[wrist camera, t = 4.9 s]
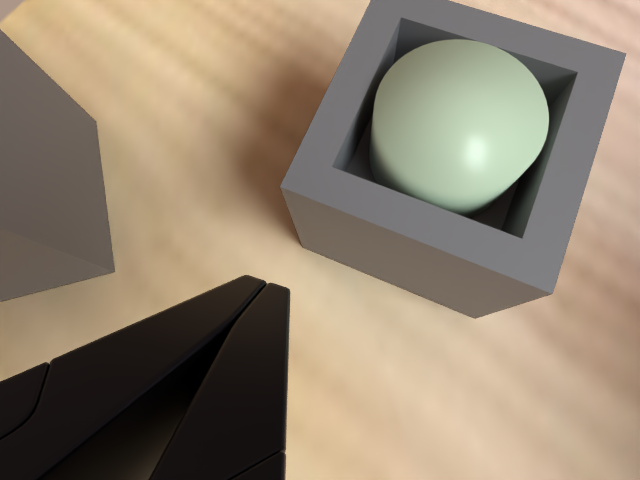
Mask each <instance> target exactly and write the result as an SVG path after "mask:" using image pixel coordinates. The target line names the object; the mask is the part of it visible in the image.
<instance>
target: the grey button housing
mask: <svg viewBox="0 0 640 480" xmlns="http://www.w3.org/2000/svg"><path fill="white" fill-rule="evenodd" d="M452 39H462V40H472V41H478V42H482V43H486V44H489V45H492V46H494V47H497V48H499V49H501V50H503V51H505V52H507V53H509V54H510V55H512V56H513V57H515V58H516V59H517V60H519V61H520V62H521V63H522V64H523V65H525V67H526V68H527V69H528V70H529V71H530V72H531V73H532V74H533V76H534V77H535V78H536V80H537V81H538V83H539V85H540V87H541V89H542V90H543V93H544V96H545V98H546V102H547V106H548V113H549V125H548V133H547V136H546V140H545V143H544V145H543V147H542V150H541V151H540V153H539V155H538V156H537V158H536V159H535V160H534V162H533V163H532V164H531V165H530V166H529V167H528V168H527V169H526V170H525V172H524V173H523V174H522V175H521V176H520V177H519V178H518V179H517V180H516V181H515V182H514V183H513V184H512V185H511V186H510V187H509V188H508V189H507V190H506V191H505V193H504V194H503V195H502V196H501V197H500V198H499V199H498V200H497V201H496V202H495V203H494V204H492V205H491V206H490V207H489V208H487V209H486V210H484V211H483V212H481V213H479V214H477V215H474V216H472V217H469V218H466V217H463V216H461V215H458V214H455V213H453V212H450V211H447V210H445V209H442V208H439V207H437V206H434V205H432V204H429V203H426V202H424V201H421V200H418V199H416V198H413V197H410V196H408V195H405V194H402V193H400V192H397V191H394V190H392V189H389V188H387V187H384V186H381V185H379V184H377V182H376V180H375V178H374V176H373V173H372V170H371V166H370V160H369V146H370V137H371V128H372V119H373V111H374V102H375V98H376V93H377V90H378V88H379V85H380V83H381V81H382V79H383V77H384V76H385V74H386V73H387V72H388V70H389V69H390V68H391V67H392V66H393V65H394V64H395V63H396V62H397V61H398V60H399V59H400V58H401V57H403V56H404V55H405V54H407V53H409V52H410V51H412V50H414V49H416V48H418V47H420V46H423V45H426V44H429V43H432V42H437V41H442V40H452ZM625 56H626V53H623V52H619V51H616V50H612V49H609V48H606V47H602V46H599V45H596V44H592V43H589V42H586V41H582V40H579V39H576V38H572V37H569V36H566V35H562V34H559V33H556V32H552V31H549V30H546V29H542V28H539V27H536V26H532V25H529V24H526V23H522V22H519V21H516V20H512V19H509V18H506V17H502V16H499V15H495V14H492V13H489V12H485V11H482V10H479V9H475V8H472V7H469V6H465V5H462V4H459V3H455V2H452V1H449V0H371V1H370V3H369V5H368V7H367V9H366V11H365V14H364V16H363V18H362V20H361V22H360V24H359V26H358V28H357V30H356V32H355V34H354V36H353V38H352V40H351V42H350V44H349V46H348V48H347V50H346V52H345V54H344V57H343V59H342V61H341V63H340V65H339V67H338V69H337V71H336V73H335V75H334V77H333V79H332V81H331V83H330V85H329V87H328V89H327V91H326V93H325V95H324V97H323V100H322V102H321V104H320V106H319V108H318V110H317V112H316V114H315V116H314V118H313V120H312V122H311V124H310V126H309V128H308V130H307V132H306V134H305V136H304V138H303V140H302V142H301V145H300V147H299V149H298V151H297V153H296V155H295V157H294V159H293V161H292V163H291V165H290V167H289V169H288V171H287V173H286V175H285V177H284V179H283V181H282V183H281V185H280V188H281V191H282V194H283V196H284V199H285V202H286V204H287V207H288V210H289V212H290V215H291V218H292V220H293V223H294V226H295V228H296V231H297V234H298V236H299V239H300V242H301V244H302V247H303V248H305V249H308V250H310V251H313V252H315V253H317V254H320V255H322V256H325V257H327V258H330V259H332V260H334V261H337V262H339V263H342V264H344V265H347V266H349V267H351V268H354V269H356V270H359V271H361V272H363V273H366V274H368V275H371V276H373V277H376V278H378V279H380V280H383V281H385V282H388V283H390V284H392V285H395V286H397V287H400V288H402V289H405V290H407V291H409V292H412V293H414V294H417V295H419V296H421V297H424V298H426V299H429V300H431V301H434V302H436V303H438V304H441V305H443V306H446V307H448V308H450V309H453V310H455V311H458V312H460V313H463V314H465V315H467V316H470V317H472V318H479V317H482V316H485V315H488V314H491V313H494V312H497V311H501V310H504V309H507V308H510V307H513V306H516V305H519V304H523V303H526V302H529V301H532V300H535V299H538V298H541V297H545V296H548V295H551V294H553V291H554V288H555V284H556V281H557V278H558V275H559V271H560V268H561V265H562V262H563V258H564V255H565V252H566V249H567V245H568V242H569V239H570V236H571V232H572V229H573V226H574V223H575V219H576V216H577V213H578V209H579V206H580V203H581V200H582V196H583V193H584V190H585V187H586V183H587V180H588V177H589V174H590V170H591V167H592V164H593V161H594V157H595V154H596V151H597V148H598V144H599V141H600V138H601V135H602V131H603V128H604V125H605V122H606V118H607V115H608V112H609V108H610V105H611V102H612V99H613V95H614V92H615V89H616V86H617V82H618V79H619V76H620V73H621V69H622V66H623V63H624V60H625Z"/></svg>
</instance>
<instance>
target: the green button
mask: <svg viewBox="0 0 640 480" xmlns="http://www.w3.org/2000/svg"><path fill="white" fill-rule="evenodd" d="M548 125H549V113H548V106H547V102H546V98H545V96H544V93H543V90H542V89H541V87H540V85H539V83H538V81H537V80H536V78H535V77H534V76H533V74H532V73H531V72H530V71H529V70H528V69H527V68H526V67H525V65H523V64H522V63H521V62H520V61H519V60H517V59H516V58H515V57H513V56H512V55H510V54H509V53H507V52H505V51H503V50H501V49H499V48H497V47H494V46H492V45H489V44H486V43H482V42H478V41H472V40H462V39H452V40H442V41H437V42H432V43H429V44H426V45H423V46H420V47H418V48H416V49H414V50H412V51H410V52H409V53H407V54H405V55H404V56H403V57H401V58H400V59H399V60H398V61H397V62H396V63H395V64H394V65H393V66H392V67H391V68H390V69H389V70H388V72H387V73H386V74H385V76H384V77H383V79H382V81H381V83H380V85H379V88H378V90H377V93H376V98H375V102H374V111H373V119H372V128H371V137H370V146H369V160H370V166H371V170H372V173H373V176H374V178H375V180H376V182H377V184H379V185H381V186H384V187H387V188H389V189H392V190H394V191H397V192H400V193H402V194H405V195H408V196H410V197H413V198H416V199H418V200H421V201H424V202H426V203H429V204H432V205H434V206H437V207H439V208H442V209H445V210H447V211H450V212H453V213H455V214H458V215H461V216H463V217H466V218H469V217H472V216H474V215H477V214H479V213H481V212H483V211H484V210H486V209H487V208H489V207H490V206H491V205H492V204H494V203H495V202H496V201H497V200H498V199H499V198H500V197H501V196H502V195H503V194H504V193H505V191H506V190H507V189H508V188H509V187H510V186H511V185H512V184H513V183H514V182H515V181H516V180H517V179H518V178H519V177H520V176H521V175H522V174H523V173H524V172H525V170H526V169H527V168H528V167H529V166H530V165H531V164H532V163H533V162H534V160H535V159H536V158H537V156H538V155H539V153H540V151H541V150H542V147H543V145H544V143H545V140H546V136H547V133H548Z"/></svg>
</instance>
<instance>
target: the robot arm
mask: <svg viewBox="0 0 640 480" xmlns="http://www.w3.org/2000/svg"><path fill="white" fill-rule="evenodd" d="M289 319H290V290H289V289H288V288H286V287H283V286H280V285H277V284H274V283H268V284H267V283H266V281H264V280H261V279H258V278H255V277H252V276H249V275H244V276H241V277H239V278H236V279H234V280H232V281H230V282H227V283H225V284H223V285H221V286H218V287H216V288H214V289H211V290H209V291H207V292H205V293H202V294H200V295H198V296H195V297H193V298H191V299H189V300H186V301H184V302H182V303H180V304H177V305H175V306H173V307H170V308H168V309H166V310H164V311H161V312H159V313H157V314H155V315H152V316H150V317H148V318H145V319H143V320H141V321H139V322H136V323H134V324H132V325H129V326H127V327H125V328H123V329H120V330H118V331H116V332H114V333H111V334H109V335H107V336H104V337H102V338H100V339H98V340H95V341H93V342H91V343H88V344H86V345H84V346H82V347H79V348H77V349H75V350H73V351H70V352H68V353H66V354H63V355H61V356H59V357H57V358H54V359H52V360H51V362H50V364H49V363H47V362H45V363H42V364H40V365H38V366H36V367H33V368H31V369H29V370H26V371H24V372H22V373H20V374H17V375H15V376H13V377H10V378H8V379H5V380H3V381H1V382H0V480H285V473H286V454H285V451H286V427H287V391H288V355H289Z"/></svg>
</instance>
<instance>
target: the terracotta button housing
mask: <svg viewBox="0 0 640 480" xmlns="http://www.w3.org/2000/svg"><path fill="white" fill-rule="evenodd" d="M112 272H115V269H114V261H113V253H112V245H111V237H110V229H109V221H108V213H107V205H106V197H105V189H104V181H103V173H102V166H101V158H100V150H99V142H98V134H97V126H96V121H95V120H94V119H93V118H92V117H91V116H90V115H89V114H88V113H87V112H86V111H85V110H84V109H83V108H82V107H81V106H80V105H79V104H77V103H76V102H75V101H74V100H73V99H72V98H71V97H70V96H69V95H68V94H67V93H66V92H65V91H64V90H63V89H62V88H61V87H60V86H59V85H58V84H57V83H56V82H55V81H54V80H52V79H51V78H50V77H49V76H48V75H47V74H46V73H45V72H44V71H43V70H42V69H41V68H40V67H39V66H38V65H37V64H36V63H35V62H34V61H33V60H32V59H31V58H30V57H28V56H27V55H26V54H25V53H24V52H23V51H22V50H21V49H20V48H19V47H18V46H17V45H16V44H15V43H14V42H13V41H12V40H11V39H10V38H9V37H8V36H7V35H6V34H5V33H3V32H2V31H1V30H0V302H1V301H5V300H9V299H13V298H17V297H21V296H24V295H28V294H32V293H36V292H40V291H44V290H47V289H51V288H55V287H59V286H63V285H67V284H70V283H74V282H78V281H82V280H86V279H90V278H93V277H97V276H101V275H105V274H109V273H112Z"/></svg>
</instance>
